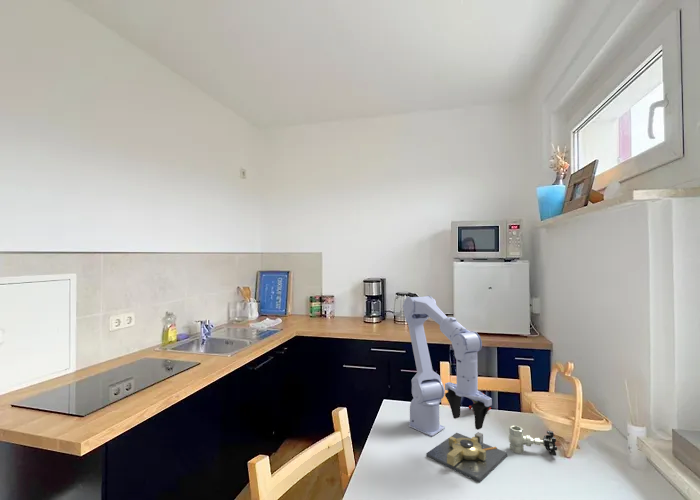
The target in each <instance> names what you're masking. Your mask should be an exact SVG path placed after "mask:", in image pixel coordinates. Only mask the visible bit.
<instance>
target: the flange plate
mask: <svg viewBox="0 0 700 500" xmlns="http://www.w3.org/2000/svg"><path fill="white" fill-rule="evenodd" d="M450 437H454V438H456V439H457V438H469V439H471V438H472V437H469V436H466V435H465V434H464V435H463V434H461V433H458V432H455V433H454V434H453V435H451V436H450ZM450 437H448V438H447V439H445V440H444V441H442V442H440V443H439V444H438V445H436V446H435V447H433V448H432V449H431V450H429V451H428V452H426V454H425V455H426V458H428V459H430V460H432V461H434V462H436V463H438V464H440V465H442V466H444V467H447V468H449V469H450V470H452V471H454V472H456V473H459V474H461V475H463V476H465V477H467V478H469V479H471V480H473V481H474V482H477V483H479V484H480V483H482V481H484V479H485V478H487V476H488V475H489V474H491V473H492V471H494V470H495V469H496V468H497V467H498V466H499V465H500V464H501V463H502V462H503V461H504V460H506V458H507V457H508V452H506V451H504V450H501V449H499V448H498V447H496V446H492V445H489V444H487V443H484V434H483V433H481V432H479V431H478V432H476V433H475V434H474V437H476V438H478V443H479V444H480V445H481V447H482V449H483V450H485V451H486V459H485V460H484V461H483V460H481V459H476V460H466V459H462V460H461V461H460V462H459V463H457V464H456V465H455V466H452V465H450V464H447V454H448V453H449V452H450V451H452V447H451V446H449V438H450Z"/></svg>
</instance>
